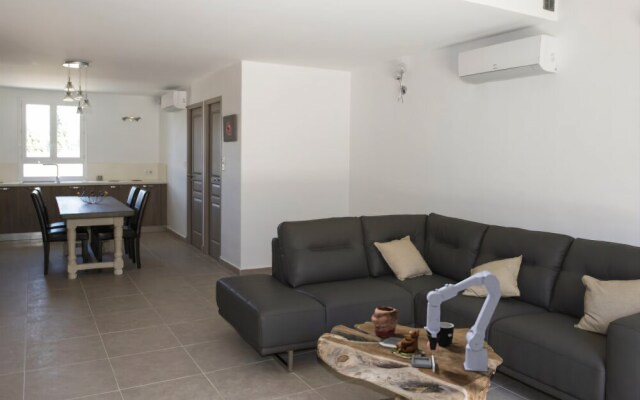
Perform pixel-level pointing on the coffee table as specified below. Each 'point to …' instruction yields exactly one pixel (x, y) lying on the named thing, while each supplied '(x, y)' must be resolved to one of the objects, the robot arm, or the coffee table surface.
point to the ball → (429, 346)
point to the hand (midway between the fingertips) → (432, 347)
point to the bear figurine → (408, 346)
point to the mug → (445, 334)
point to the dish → (421, 362)
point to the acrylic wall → (433, 364)
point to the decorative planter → (385, 321)
